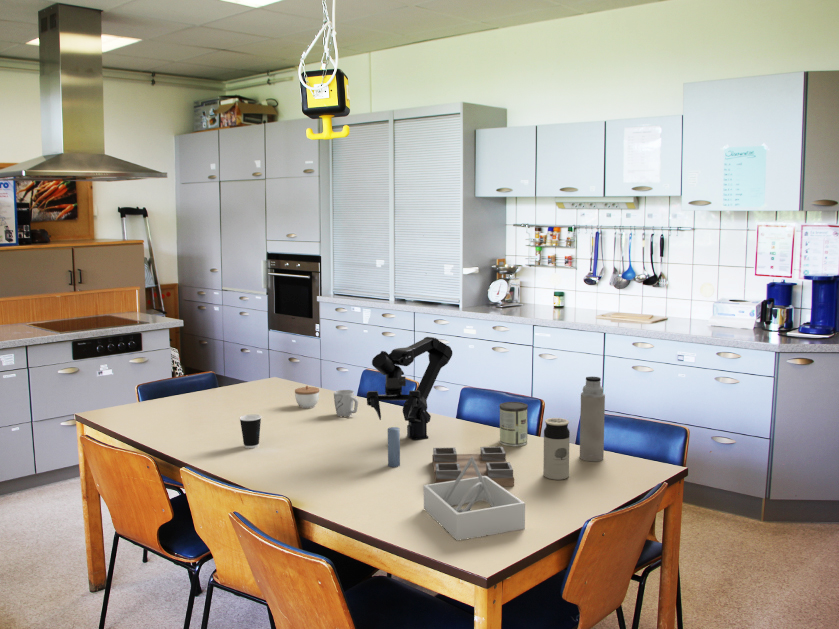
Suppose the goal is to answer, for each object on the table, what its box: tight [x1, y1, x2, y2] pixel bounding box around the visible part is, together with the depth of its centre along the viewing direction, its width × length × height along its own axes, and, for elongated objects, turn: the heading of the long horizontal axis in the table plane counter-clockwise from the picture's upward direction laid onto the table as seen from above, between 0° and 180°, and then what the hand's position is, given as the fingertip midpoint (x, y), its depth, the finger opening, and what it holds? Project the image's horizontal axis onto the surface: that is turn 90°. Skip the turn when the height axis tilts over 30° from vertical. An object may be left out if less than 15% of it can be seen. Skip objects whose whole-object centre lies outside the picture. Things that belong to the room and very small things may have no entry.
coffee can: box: [498, 401, 529, 447], centre depth 264 cm, size 10×10×14 cm
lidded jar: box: [294, 385, 320, 409], centre depth 320 cm, size 11×11×9 cm
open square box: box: [423, 476, 526, 541], centre depth 196 cm, size 20×23×7 cm
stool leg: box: [387, 426, 401, 468], centre depth 240 cm, size 4×4×12 cm
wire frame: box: [443, 457, 495, 513], centre depth 194 cm, size 18×13×16 cm
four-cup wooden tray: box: [431, 446, 515, 487], centre depth 232 cm, size 24×24×5 cm
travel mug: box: [542, 417, 571, 481], centre depth 228 cm, size 8×8×18 cm
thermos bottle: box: [579, 376, 606, 462], centre depth 245 cm, size 8×8×28 cm
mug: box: [333, 389, 359, 417], centre depth 304 cm, size 11×8×10 cm
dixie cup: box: [238, 414, 262, 449], centre depth 262 cm, size 8×8×11 cm
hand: (393, 419), depth 247 cm, fingers open, 9 cm apart
